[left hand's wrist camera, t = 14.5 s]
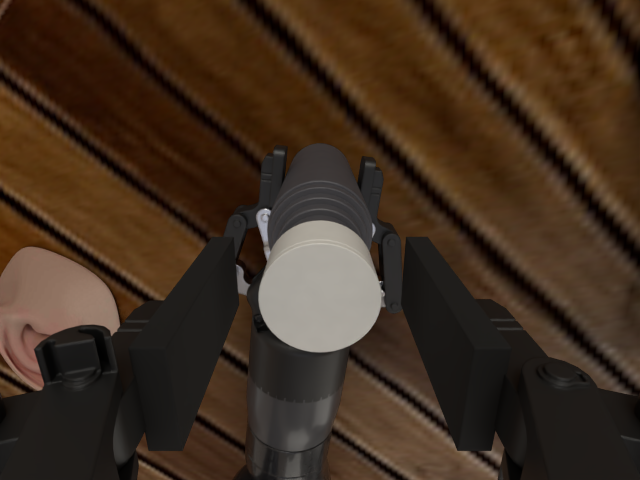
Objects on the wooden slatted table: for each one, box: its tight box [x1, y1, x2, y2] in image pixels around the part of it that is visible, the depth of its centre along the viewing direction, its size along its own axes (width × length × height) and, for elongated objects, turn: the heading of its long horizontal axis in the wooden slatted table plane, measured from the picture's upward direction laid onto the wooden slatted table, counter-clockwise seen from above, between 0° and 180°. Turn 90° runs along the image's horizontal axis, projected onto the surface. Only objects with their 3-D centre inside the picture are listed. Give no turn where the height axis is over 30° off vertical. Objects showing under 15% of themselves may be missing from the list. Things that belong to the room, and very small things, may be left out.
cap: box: [258, 220, 381, 352], centre depth 13 cm, size 4×4×2 cm
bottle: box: [267, 143, 373, 252], centre depth 22 cm, size 5×5×21 cm
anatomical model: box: [0, 247, 120, 391], centre depth 35 cm, size 13×4×12 cm
